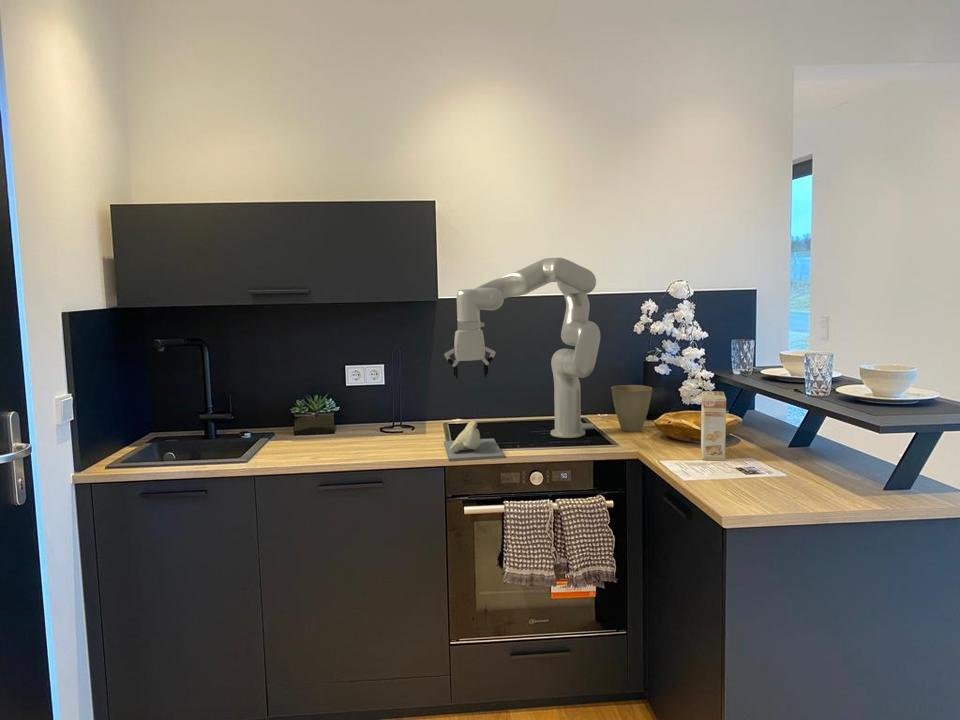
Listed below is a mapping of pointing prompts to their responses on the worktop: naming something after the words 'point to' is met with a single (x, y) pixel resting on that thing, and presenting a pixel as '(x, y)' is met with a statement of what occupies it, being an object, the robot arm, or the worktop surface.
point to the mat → (475, 451)
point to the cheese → (467, 438)
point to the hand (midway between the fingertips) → (470, 377)
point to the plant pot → (631, 405)
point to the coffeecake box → (713, 425)
